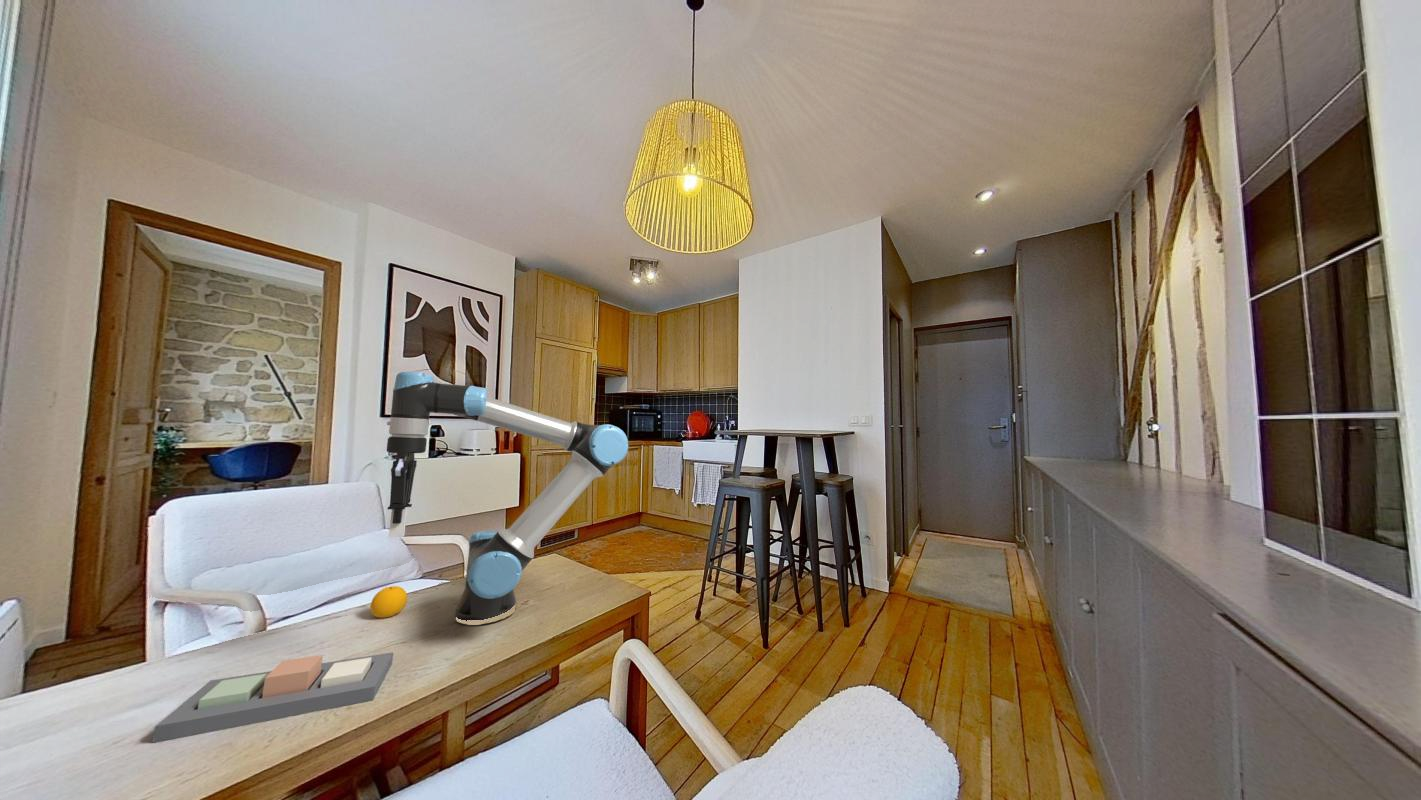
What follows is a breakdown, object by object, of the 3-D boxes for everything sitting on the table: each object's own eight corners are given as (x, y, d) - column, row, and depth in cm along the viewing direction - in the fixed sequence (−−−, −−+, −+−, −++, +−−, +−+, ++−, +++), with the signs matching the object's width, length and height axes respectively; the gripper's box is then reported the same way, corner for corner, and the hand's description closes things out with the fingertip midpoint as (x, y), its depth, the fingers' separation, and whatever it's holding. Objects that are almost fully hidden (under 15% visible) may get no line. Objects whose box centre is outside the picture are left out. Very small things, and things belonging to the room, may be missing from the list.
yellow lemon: (409, 607, 115) (412, 580, 116) (401, 619, 108) (404, 590, 109) (374, 610, 112) (378, 583, 113) (364, 623, 105) (367, 593, 106)
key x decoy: (320, 673, 80) (322, 654, 80) (306, 690, 75) (309, 671, 75) (279, 679, 77) (282, 660, 78) (262, 698, 72) (265, 677, 72)
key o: (263, 692, 76) (266, 673, 77) (244, 713, 71) (247, 692, 71) (219, 700, 74) (222, 680, 74) (195, 722, 68) (199, 700, 69)
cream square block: (369, 674, 83) (371, 657, 84) (359, 691, 78) (361, 673, 78) (332, 681, 81) (334, 663, 81) (319, 699, 75) (321, 679, 76)
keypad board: (391, 664, 88) (393, 652, 88) (373, 700, 76) (374, 686, 76) (208, 694, 76) (210, 680, 76) (152, 742, 64) (155, 726, 64)
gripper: (395, 435, 100) (384, 531, 98) (380, 436, 88) (367, 545, 86) (431, 436, 103) (421, 529, 101) (421, 437, 92) (409, 542, 90)
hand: (396, 536), depth 94 cm, fingers closed
